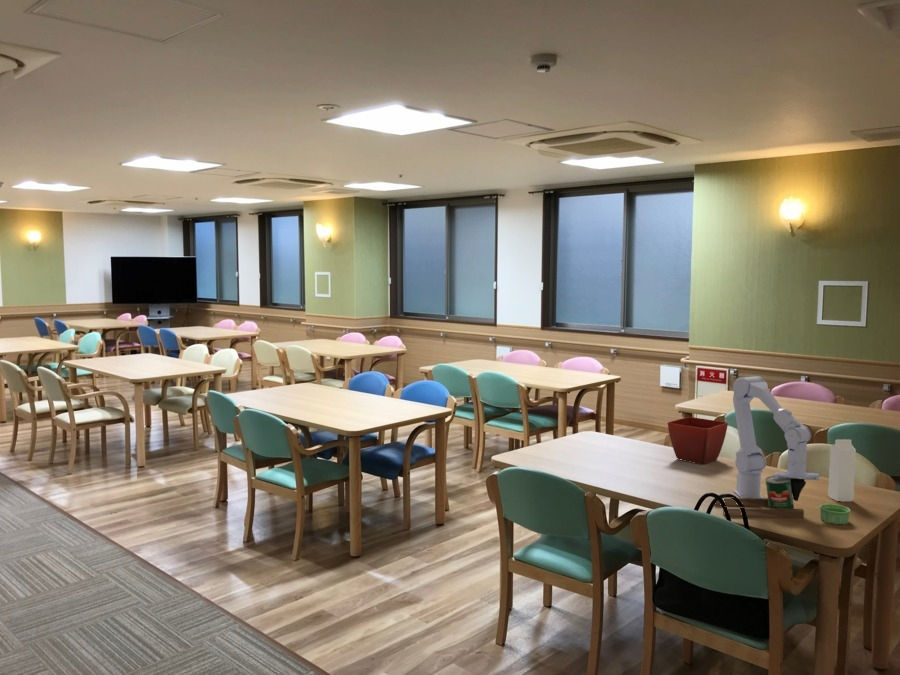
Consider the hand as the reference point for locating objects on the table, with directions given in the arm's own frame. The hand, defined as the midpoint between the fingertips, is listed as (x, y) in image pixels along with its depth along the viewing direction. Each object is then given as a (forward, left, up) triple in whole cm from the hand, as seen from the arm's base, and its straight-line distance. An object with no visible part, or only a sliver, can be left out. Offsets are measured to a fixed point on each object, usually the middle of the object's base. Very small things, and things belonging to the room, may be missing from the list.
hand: (795, 500), depth 247 cm
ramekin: (+8, +9, -4) cm, 13 cm away
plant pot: (-69, -15, -4) cm, 70 cm away
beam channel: (0, -13, -4) cm, 13 cm away
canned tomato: (0, -5, -4) cm, 6 cm away
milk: (-16, +22, -4) cm, 28 cm away
